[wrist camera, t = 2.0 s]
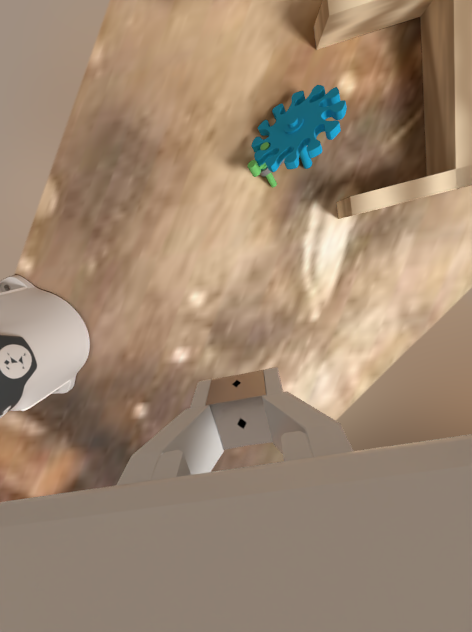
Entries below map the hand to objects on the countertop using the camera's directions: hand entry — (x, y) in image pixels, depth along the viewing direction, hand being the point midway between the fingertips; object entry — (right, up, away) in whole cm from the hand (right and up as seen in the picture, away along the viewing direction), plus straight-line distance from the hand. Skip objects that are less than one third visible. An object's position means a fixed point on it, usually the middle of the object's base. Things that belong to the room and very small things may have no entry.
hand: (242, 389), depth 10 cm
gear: (+6, +23, +22) cm, 32 cm away
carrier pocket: (+17, +26, +20) cm, 37 cm away
